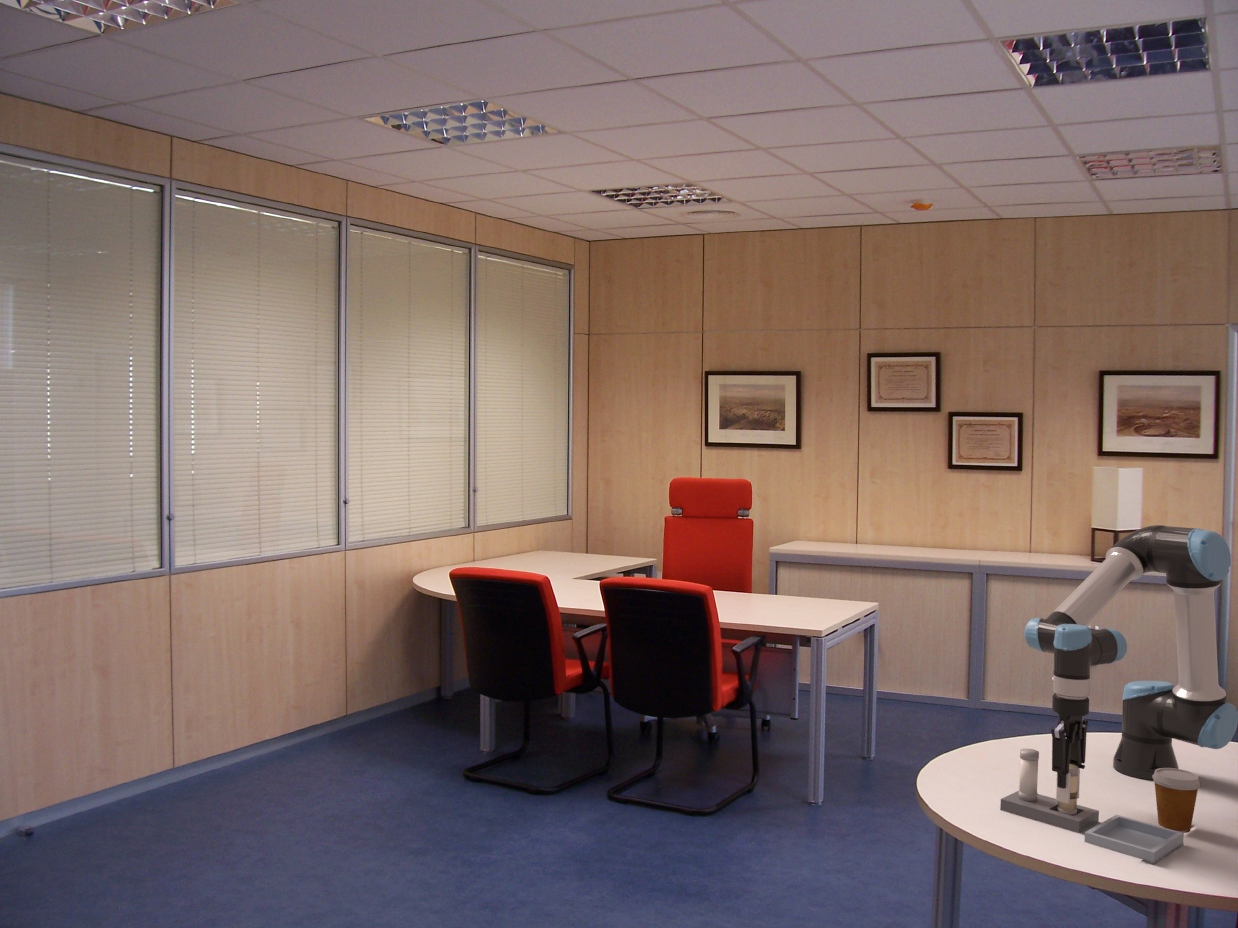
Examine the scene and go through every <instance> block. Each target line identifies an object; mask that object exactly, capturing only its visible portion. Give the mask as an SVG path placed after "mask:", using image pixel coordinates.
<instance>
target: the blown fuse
mask: <svg viewBox="0 0 1238 928" xmlns="http://www.w3.org/2000/svg"><path fill="white" fill-rule="evenodd" d="M1069 773H1070V774H1071V779H1070V803H1069V804H1068V803H1064V802H1060V801H1058V812H1061V813H1064V814H1068V815H1071V816H1075V815H1077V805H1078V799H1077V783H1078V766H1076V765H1073V764H1070V765H1069Z"/></svg>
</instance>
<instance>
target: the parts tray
mask: <svg viewBox="0 0 1238 928" xmlns="http://www.w3.org/2000/svg"><path fill="white" fill-rule="evenodd" d="M1084 843H1086V844H1090V845H1094V846H1098V847H1099V848H1104V849H1107V850H1110V851H1114V852H1116V853H1117V852H1118V853H1120V854H1124V855H1127V856H1131V857H1134V858H1136V859H1137V858H1138V859H1141V862H1143V863H1147V864H1150V865H1153V866H1154V865H1155V864H1157V863H1158V862H1159V861H1161V860H1163V859H1164V858H1166V857H1167V856H1169V855H1170V854H1172V853H1173V852H1175V851H1176V850H1177V849H1179V848H1181V847H1182V846H1184V832H1183V831H1176V830H1171V829H1167V828H1164V827H1162V826H1160V825H1155V824H1153V823H1148V822H1145V821H1141V820H1138V819H1135V818H1134V819H1133V818H1130V817H1127V816H1123V815H1120V814H1114V815H1113V816H1111V817H1110V818H1108V819H1106V820H1105V821H1102V822H1101V823H1100V822H1099V824H1097V825H1094V826H1093V827H1092V828H1090V829H1088V830H1086V831H1084Z"/></svg>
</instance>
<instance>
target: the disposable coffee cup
mask: <svg viewBox="0 0 1238 928" xmlns="http://www.w3.org/2000/svg"><path fill="white" fill-rule="evenodd" d="M1152 778H1153V780H1152V781H1153V782H1154V790H1155V792H1154V793H1155V800H1156V812H1157V822H1158V826H1160V827H1164V828H1167V829H1171V830H1174V831H1178V832H1183V833H1189V832H1191V828H1192V823H1193V819H1194V818H1193V817H1194V811H1195V806H1196V802H1197V797H1198V791H1199V790H1198V789H1200V786H1201V781H1200V778H1199V776H1198V775H1197V774H1195V773H1194V772H1192V771H1188V770H1185V769H1182V768H1179V769H1175V768H1158V769H1156V770H1155V772H1154V774H1153V775H1152Z"/></svg>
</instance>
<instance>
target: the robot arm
mask: <svg viewBox="0 0 1238 928" xmlns="http://www.w3.org/2000/svg"><path fill="white" fill-rule="evenodd" d="M1228 544H1229V543H1227V540H1226V539H1225V538H1224V537H1223V536H1222V535H1221V534H1220V533H1218V532H1216V531H1213V530H1207V529H1203V528H1199V527H1198V528H1195V527H1194V528H1193V527H1183V526H1169V525H1162V524H1155V525H1148V526H1144V527H1142V528H1139V529H1136V530H1134V531H1132V532H1131V533H1129V534H1127V535H1126V536H1124V537H1122V538H1121V539H1120V540H1118V541H1117V542H1116V543H1115V544H1113V545H1112V546H1111V547H1110V548H1109V549H1108V550H1107V551H1106V553H1105V559H1104V560H1103V561H1102V562H1101V563H1100V564H1099V565H1098V566H1097V567H1096V568H1095V569H1094V571H1092V572H1091V573H1090V574H1089V575H1088V576H1087V578H1085V579H1084V580H1083V581H1082V582H1081V583H1080V584H1079V585H1078V586H1077V587H1076V589H1074V590H1073V591H1072V592H1071V593H1070V594H1069V595H1068V596H1067V597H1066V598H1065V599H1064V600H1063V601H1062V602H1061V603H1060V604H1059V605H1058V606H1057V607H1056V608H1055V609H1054V610H1053V611H1052V612H1051V613H1050V614H1049V615H1048V616H1047V617H1046V618H1043V617H1040V618H1039V617H1034V618H1031V619H1030V620H1029V621H1028V622H1027V624H1026V625H1025V627H1024V632H1023V633H1024V634H1023V636H1024V640H1025V642H1026V644H1027V646H1028V647H1029V648H1031V649H1033V650H1037V651H1040V652H1042V653H1048V654H1053V676H1052V677H1051V681H1052V692H1054V693H1053V695H1052V704H1051V705H1052V708H1051V709H1052V711H1053V712H1054V713H1056V714H1057V715H1058V719H1057V724H1056V725H1057V727H1052V728H1051V729H1050V733H1051V737H1052V739H1051V740H1052V742H1051V743H1052V744H1051V748H1052V749H1051V770H1052V772H1055V773H1056V792H1055V793H1056V797H1055V799H1056V800H1057V801H1060V802H1064V803H1068V804H1069V803H1070V779H1071V774H1070V773H1069V765H1070V764H1073V765H1076V766H1078V783H1077V800H1078V799H1079V798H1080V783H1081V782H1080V779H1081V776H1080V775H1081V769H1083V770H1084V769H1085V767H1086V754H1087V753H1086V750H1087V747H1086V746H1087V731H1088V725H1089V720H1088V719H1085V718H1083V717H1086V716H1088V715H1089V713H1090V698H1089V696H1090V695H1091V667H1093V666H1098V665H1109V664H1112V663H1114V662H1115V663H1116V662H1119V661H1121V660H1122V659H1123V658H1124V657H1125V656H1126V654H1127V652H1128V643H1127V640H1126V638H1125V636H1124V635H1123V634H1122V632H1120V631H1118V630H1117V629H1114V628H1102V629H1096V628H1090V627H1089V626H1088V625H1089V624H1090V622H1091V621H1093V620H1094V618H1096V617H1097V615H1098V614H1100V612H1101V611H1102V610H1103V609H1105V608H1106V606H1107V605H1108V604H1109V603H1110V602H1111V601H1113V599H1115V598H1116V597H1117V595H1118V594H1119V593H1120V592H1121V591H1122V590H1123V589H1124V588H1125V587H1126V586H1127V585H1128V584H1129V583H1130V582H1131V581H1135V580H1138V579H1140V578H1141V577H1142V576H1143V575H1144V574H1147V573H1159V574H1165V577H1166V579H1165V580H1166V581H1165V582H1166V585H1167V586H1168V587H1169V588H1170V589H1171V590H1172V591H1173V595H1174V597H1173V600H1174V618H1175V633H1176V635H1175V636H1176V651H1177V652H1176V653H1177V655H1176V656H1177V673H1178V675H1177V676H1178V684H1177V685H1176V686H1175V684H1174V683H1173V682H1172V683H1171V682H1169V681H1164V680H1137V681H1135V680H1134V681H1130V682H1128V683H1126V684H1125V685H1124V688H1123V692H1122V693H1123V694H1122V695H1123V696H1122V698H1121V700H1122V717H1121V718H1122V719H1121V720H1122V721H1121V738H1120V741H1119V743H1118V746H1117V749H1116V751H1115V754H1114V755H1113V760H1112V763H1113V765H1112V766H1113V768H1114V770H1115V771H1117V772H1119V773H1120V774H1124V775H1127V776H1129V777H1134V778H1138V779H1143V780H1144V779H1145V780H1151V781H1153V778H1152V775H1153V774H1154V772H1155V770H1156V769H1158V768H1175V769H1180V768H1179V764H1178V761H1177V756H1176V755H1175V750H1174V747H1173V740H1177V741H1180V742H1184V743H1188V744H1192V745H1195V746H1198V747H1200V748H1208V749H1212V750H1220V749H1222V748H1225V747H1226V746H1227V745H1228V744H1229V743H1230V742H1231V740H1232V739H1233V737H1234V736H1235V734H1236V731H1237V728H1238V709H1237V707H1236V706H1235V705H1234V704H1232V703H1230V702H1227V692H1226V690H1225V689H1224V688H1223V687H1222V686H1220V685H1219V669H1218V648H1217V630H1216V629H1217V625H1216V624H1217V623H1216V604H1215V603H1216V602H1215V590H1217V588H1219V587H1220V586H1221V585H1222V582H1221V580H1224V579H1225V578H1226V577H1227V576H1228V574H1229V573H1230V569H1229V568H1230V567H1231V565H1232V555H1231V549H1230V547H1229V545H1228Z"/></svg>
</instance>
